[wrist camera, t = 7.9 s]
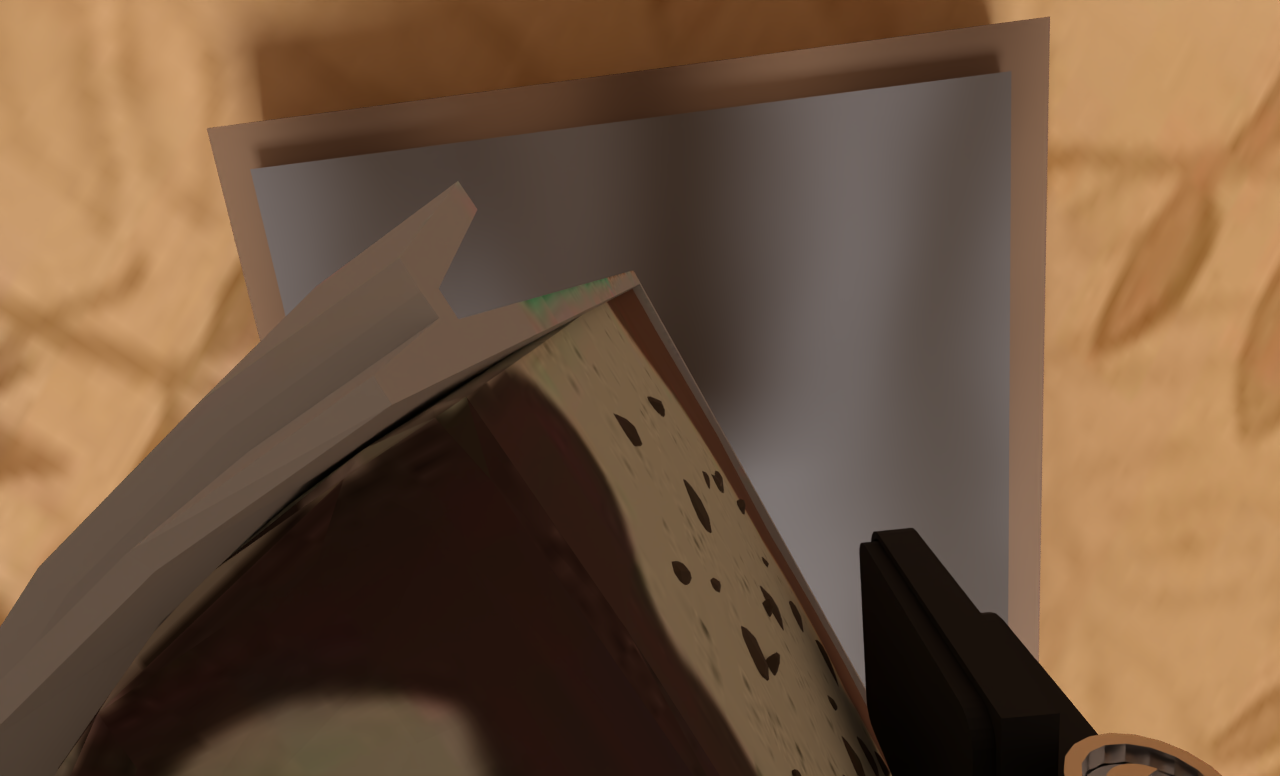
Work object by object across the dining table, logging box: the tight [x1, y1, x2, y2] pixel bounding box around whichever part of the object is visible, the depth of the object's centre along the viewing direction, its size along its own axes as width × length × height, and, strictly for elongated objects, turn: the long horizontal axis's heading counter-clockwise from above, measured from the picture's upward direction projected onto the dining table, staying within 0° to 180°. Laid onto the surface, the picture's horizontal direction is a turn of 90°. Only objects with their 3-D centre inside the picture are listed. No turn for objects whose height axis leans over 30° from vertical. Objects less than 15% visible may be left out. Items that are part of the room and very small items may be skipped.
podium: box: [207, 17, 1050, 688], centre depth 19 cm, size 18×18×3 cm
